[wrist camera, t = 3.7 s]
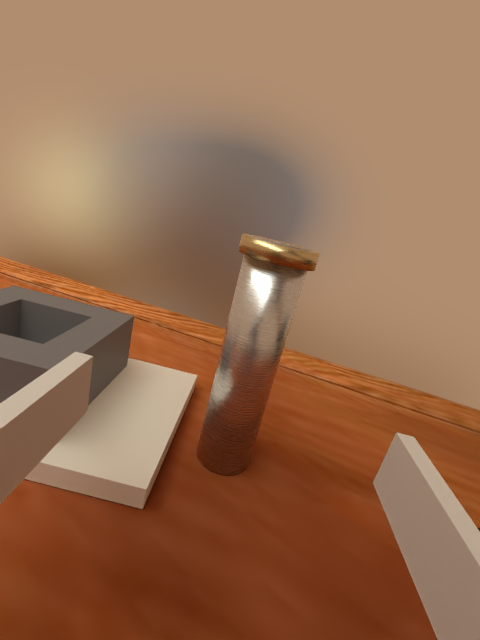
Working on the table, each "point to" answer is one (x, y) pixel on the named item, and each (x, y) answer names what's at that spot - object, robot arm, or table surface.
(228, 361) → the steel pin
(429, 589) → the robot arm
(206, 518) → the table surface
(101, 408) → the board
